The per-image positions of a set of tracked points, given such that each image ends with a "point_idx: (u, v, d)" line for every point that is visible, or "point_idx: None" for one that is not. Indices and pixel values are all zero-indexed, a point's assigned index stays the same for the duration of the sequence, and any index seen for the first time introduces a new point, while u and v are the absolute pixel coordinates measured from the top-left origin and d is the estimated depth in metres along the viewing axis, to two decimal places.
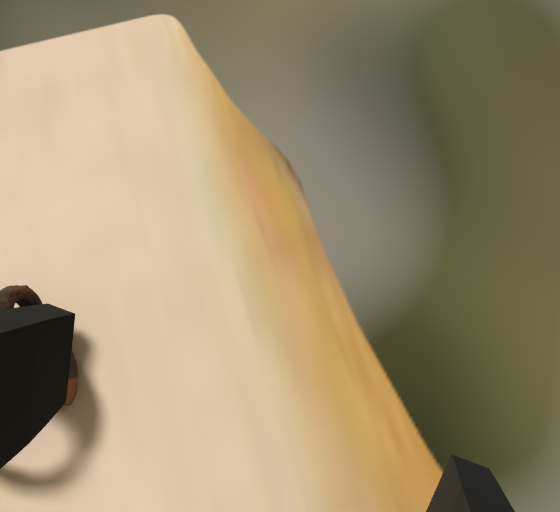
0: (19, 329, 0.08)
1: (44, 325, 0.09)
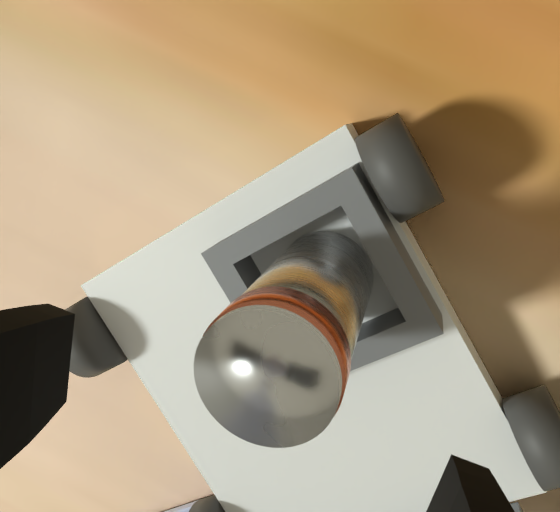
0: (19, 329, 0.08)
1: (44, 325, 0.09)
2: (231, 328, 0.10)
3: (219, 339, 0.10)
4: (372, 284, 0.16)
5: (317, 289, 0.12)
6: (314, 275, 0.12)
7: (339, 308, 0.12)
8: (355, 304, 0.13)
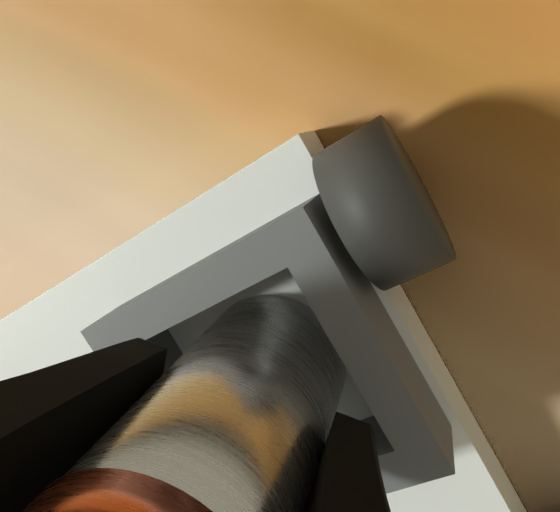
0: (125, 371, 0.08)
1: (144, 363, 0.08)
2: None
3: None
4: (344, 378, 0.11)
5: (214, 461, 0.06)
6: (219, 417, 0.07)
7: (259, 498, 0.06)
8: (300, 459, 0.07)
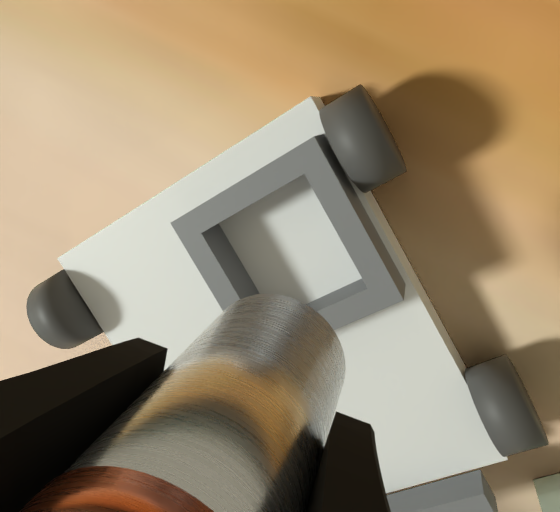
0: (125, 370, 0.08)
1: (144, 363, 0.08)
2: None
3: None
4: (343, 377, 0.11)
5: (212, 460, 0.06)
6: (217, 416, 0.07)
7: (258, 496, 0.06)
8: (299, 457, 0.07)
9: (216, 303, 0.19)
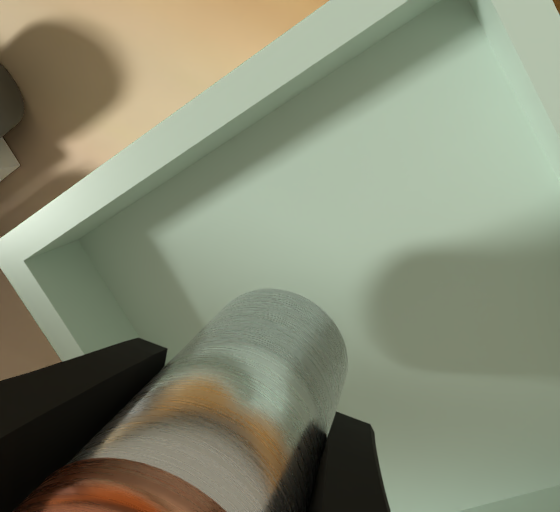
0: (125, 370, 0.08)
1: (144, 363, 0.08)
2: None
3: None
4: (346, 371, 0.11)
5: (212, 450, 0.06)
6: (216, 407, 0.07)
7: (258, 486, 0.06)
8: (301, 448, 0.07)
9: None
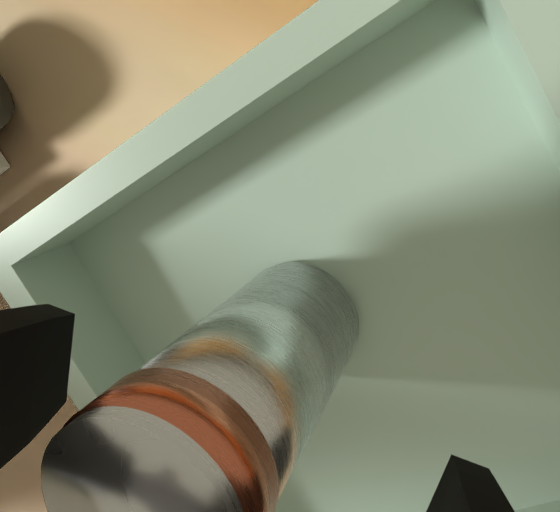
0: (19, 329, 0.08)
1: (44, 325, 0.09)
2: (77, 442, 0.07)
3: (65, 457, 0.07)
4: (356, 331, 0.12)
5: (231, 366, 0.08)
6: (236, 340, 0.09)
7: (266, 393, 0.08)
8: (305, 377, 0.09)
9: None
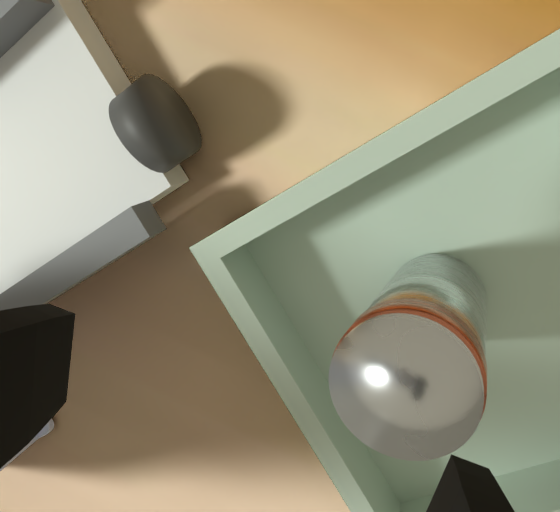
0: (19, 329, 0.08)
1: (44, 325, 0.09)
2: (365, 338, 0.11)
3: (353, 350, 0.11)
4: None
5: (441, 299, 0.12)
6: (434, 288, 0.12)
7: (467, 317, 0.12)
8: (479, 316, 0.13)
9: None
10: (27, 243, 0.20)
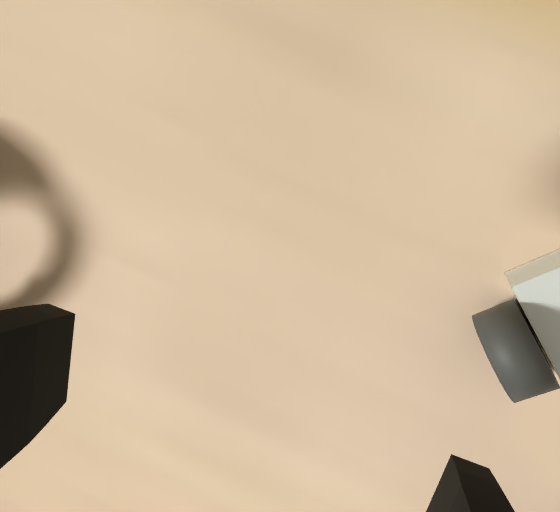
0: (19, 329, 0.08)
1: (44, 325, 0.09)
2: None
3: None
4: None
5: None
6: None
7: None
8: None
9: None
10: None
